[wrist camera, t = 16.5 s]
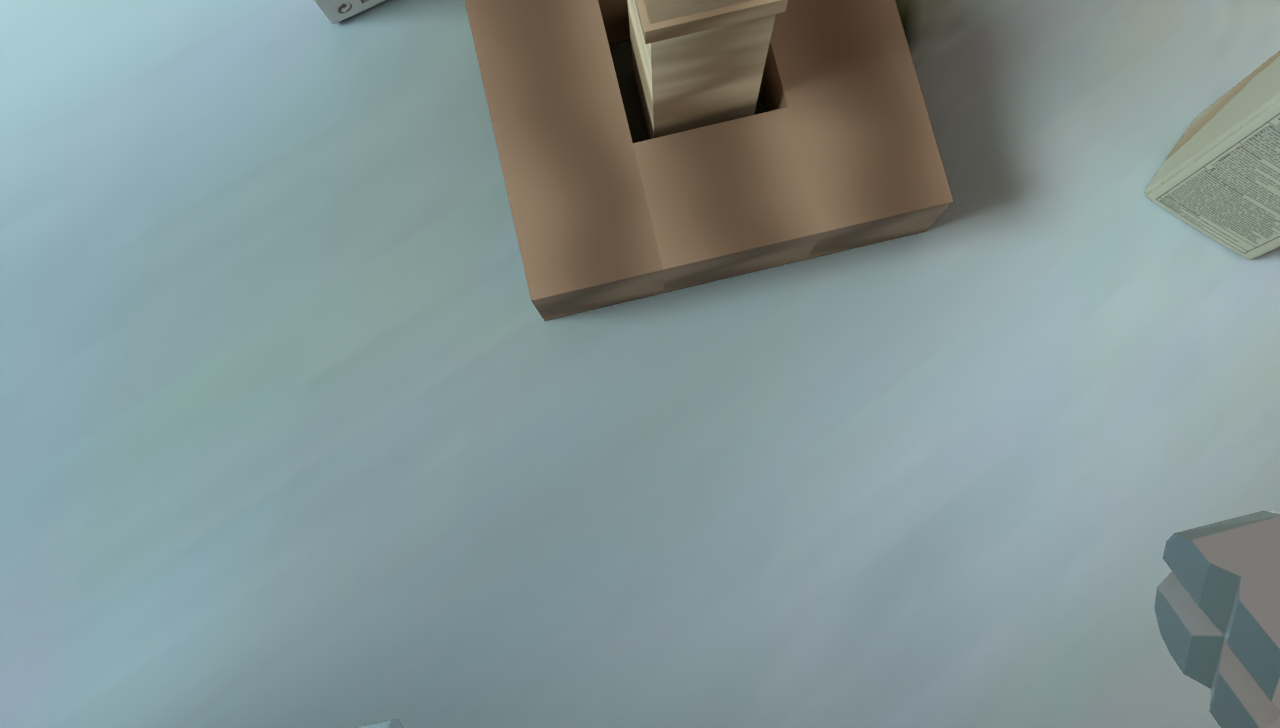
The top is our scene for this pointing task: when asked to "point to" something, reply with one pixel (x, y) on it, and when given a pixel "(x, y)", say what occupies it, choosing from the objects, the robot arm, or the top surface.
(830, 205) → the square hole block
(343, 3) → the skincare box
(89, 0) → the top surface
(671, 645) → the top surface
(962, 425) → the top surface
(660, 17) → the peg
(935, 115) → the top surface
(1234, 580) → the robot arm
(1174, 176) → the box
